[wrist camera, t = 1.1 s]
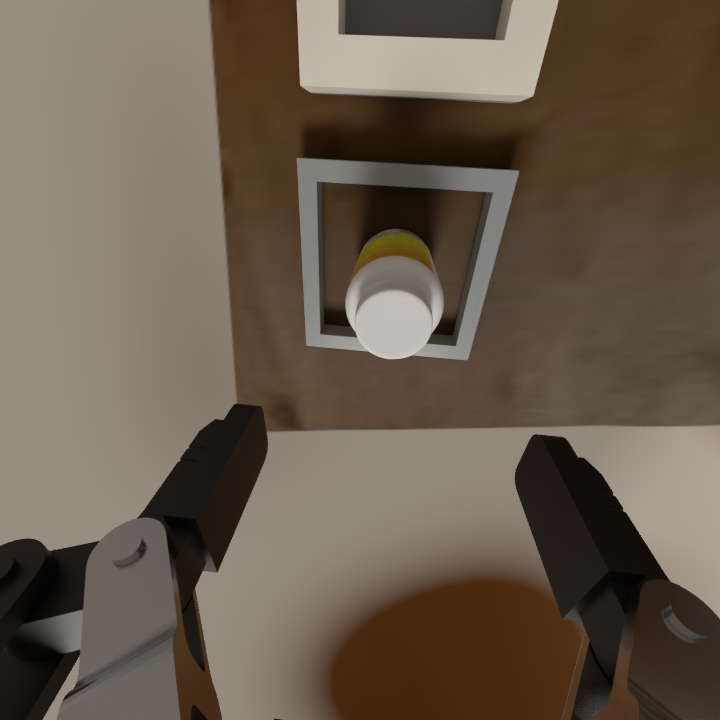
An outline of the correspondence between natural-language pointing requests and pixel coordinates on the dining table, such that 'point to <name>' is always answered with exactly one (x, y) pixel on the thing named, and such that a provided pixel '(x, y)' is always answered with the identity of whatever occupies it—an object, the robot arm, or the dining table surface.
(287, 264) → the dining table surface
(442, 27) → the holder
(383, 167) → the tray
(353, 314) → the supplement bottle
